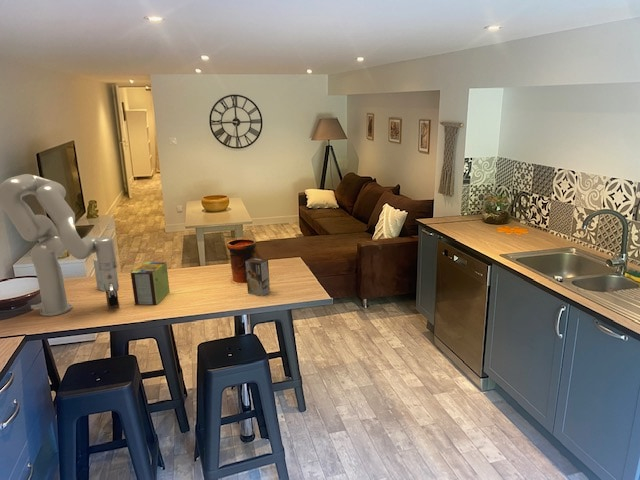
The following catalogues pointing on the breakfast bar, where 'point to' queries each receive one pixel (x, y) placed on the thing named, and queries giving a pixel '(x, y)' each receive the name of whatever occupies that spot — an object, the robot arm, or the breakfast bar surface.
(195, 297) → the breakfast bar surface
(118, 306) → the walnut block
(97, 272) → the skincare box
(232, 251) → the vessel
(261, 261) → the coffee box
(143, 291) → the protein box
